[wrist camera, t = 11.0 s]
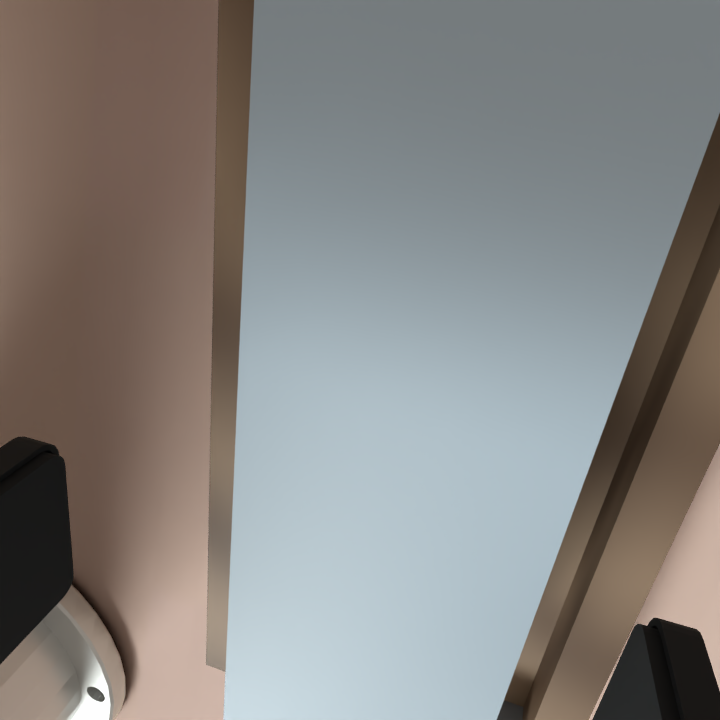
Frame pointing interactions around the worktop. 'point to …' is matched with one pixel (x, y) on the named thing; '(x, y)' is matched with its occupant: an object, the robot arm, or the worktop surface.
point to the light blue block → (438, 326)
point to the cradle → (609, 464)
